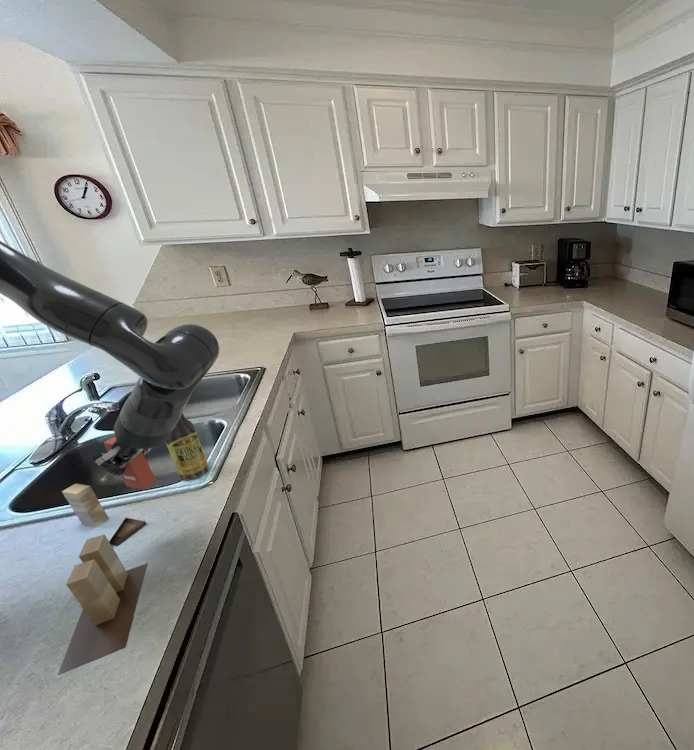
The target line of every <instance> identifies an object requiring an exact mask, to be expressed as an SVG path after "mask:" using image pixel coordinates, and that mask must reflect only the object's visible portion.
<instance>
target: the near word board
mask: <svg viewBox="0 0 694 750" xmlns="http://www.w3.org/2000/svg"><path fill="white" fill-rule="evenodd" d="M109 541H110V540H109V539H108V538H107V536H106V535H105V534H101V535H98V536H95V537H91V538H89V539H86V540H85V542H84V544H83V546H82V548H81V551H80V553H79V555H78V558H79V560H80V561H81V563H79V564H78V563H77V564H75V565H73V568H72V571H71V572H70V575H69V577H68V579H67V581H66V584H65V585H66V586H67V588H68V589H69V591H70V592H71V594H72V595H73V597H74V598H75V599H76V601H77V602H78V604H79V605H80V606H81V608H82V610H81V613H80V616H79V618H78V620H77V623H76V626H75V629H74V632H73V634H72V636H71V638H70V641H69V644H68V646H67V647H68V648H67V649H66V652H65V655H64V657H63V660H62V662H61V665H60V667H59V670H58V673H57V676H60V675H62V674H64V673H67V672H69V671H72V670H74V669H76V668H79V667H82V666H84V665H86V664H89V663H91V662H94V661H96V660H100V659H102V658H104V657H106V656H109V655H111V654H114V653H116V652H118V651H121V650H123V649H126V648H127V644H128V641H129V636H130V632H131V629H132V625H133V621H134V617H135V613H136V610H137V606H138V602H139V599H140V594H141V591H142V586H143V582H144V580H145V576H146V571H147V568H148V563H145V564H142V565H138V566H135V567H133V568H130V569H126V567H125V566H124V564H123V563H122V560H121V559H120V557H119V556H118V554H117V552H116V551H115V549H114V548H113V545H112V544H110V543H109Z"/></svg>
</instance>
